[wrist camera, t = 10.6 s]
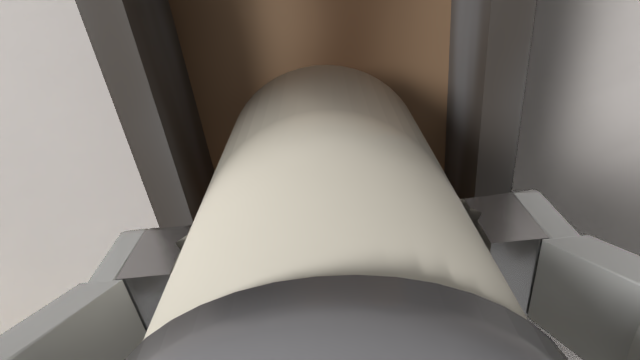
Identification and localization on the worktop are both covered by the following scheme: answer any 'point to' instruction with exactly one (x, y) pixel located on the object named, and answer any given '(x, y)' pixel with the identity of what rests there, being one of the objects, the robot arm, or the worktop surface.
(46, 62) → the worktop surface
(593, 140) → the worktop surface
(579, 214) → the worktop surface
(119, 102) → the lane
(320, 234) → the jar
